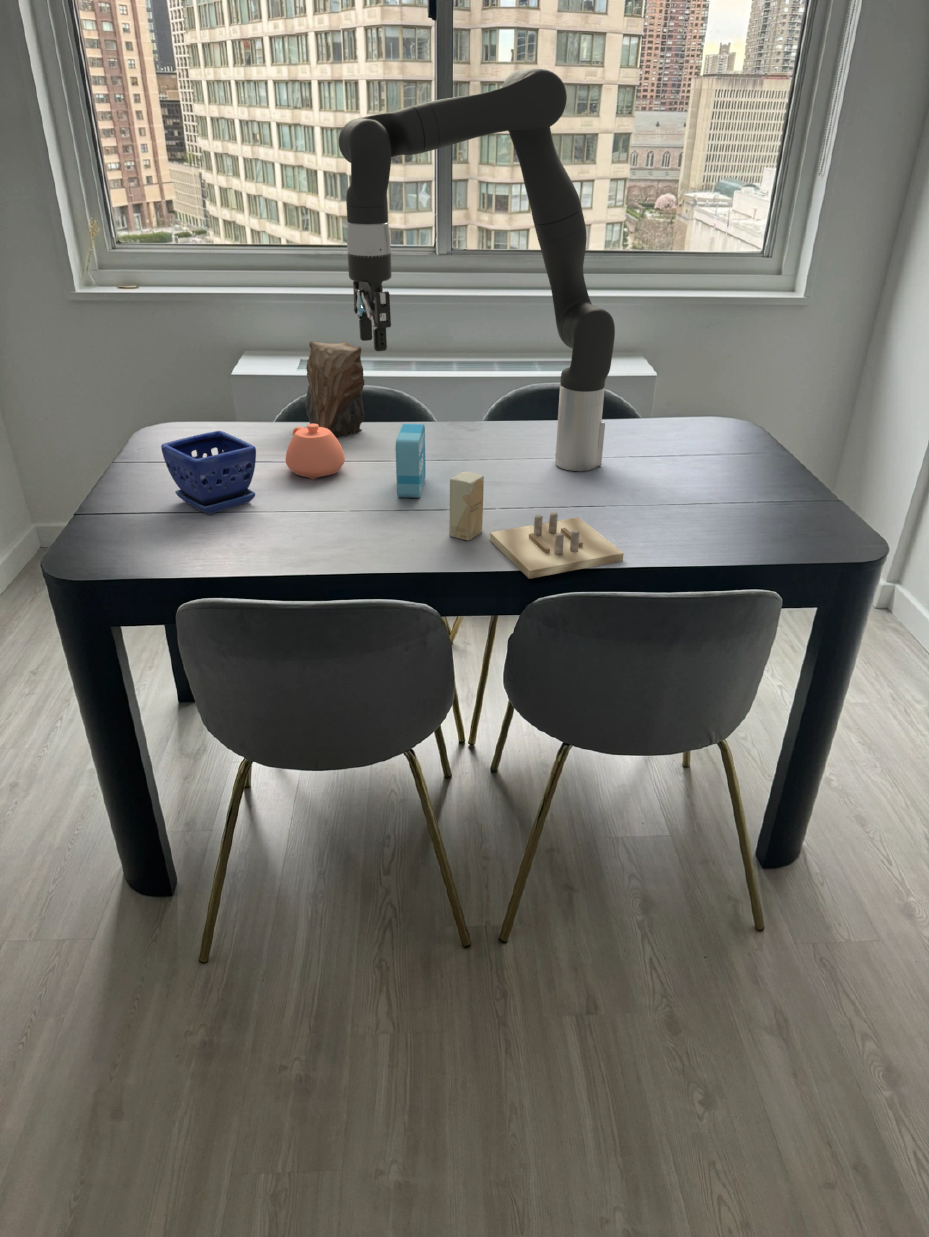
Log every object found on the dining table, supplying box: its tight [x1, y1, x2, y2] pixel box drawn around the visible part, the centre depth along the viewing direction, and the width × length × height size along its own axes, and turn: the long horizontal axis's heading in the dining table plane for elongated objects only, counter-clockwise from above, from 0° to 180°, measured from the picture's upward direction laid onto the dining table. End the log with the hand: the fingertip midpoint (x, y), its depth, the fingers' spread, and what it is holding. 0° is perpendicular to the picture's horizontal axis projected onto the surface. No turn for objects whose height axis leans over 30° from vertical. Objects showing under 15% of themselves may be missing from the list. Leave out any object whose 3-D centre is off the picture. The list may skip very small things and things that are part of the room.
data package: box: [395, 423, 426, 499], centre depth 175 cm, size 12×4×12 cm, turn 176°
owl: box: [304, 340, 366, 439], centre depth 204 cm, size 13×13×20 cm
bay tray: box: [489, 512, 625, 580], centre depth 153 cm, size 18×16×5 cm
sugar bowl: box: [285, 423, 346, 480], centre depth 184 cm, size 12×14×10 cm
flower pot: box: [160, 430, 257, 515], centre depth 168 cm, size 13×13×12 cm
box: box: [448, 470, 485, 541], centre depth 157 cm, size 5×4×11 cm
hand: (373, 345), depth 161 cm, fingers open, 8 cm apart
